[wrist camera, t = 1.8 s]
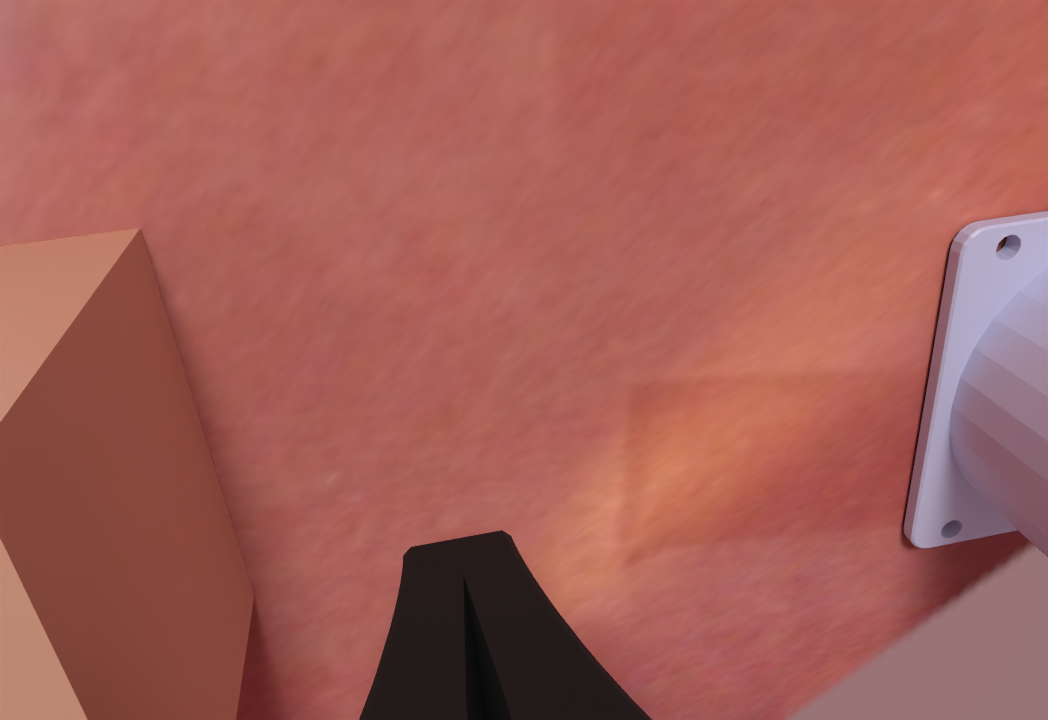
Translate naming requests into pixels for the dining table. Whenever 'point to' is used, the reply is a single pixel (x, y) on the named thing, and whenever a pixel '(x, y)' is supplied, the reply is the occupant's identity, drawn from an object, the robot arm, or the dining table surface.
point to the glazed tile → (108, 500)
